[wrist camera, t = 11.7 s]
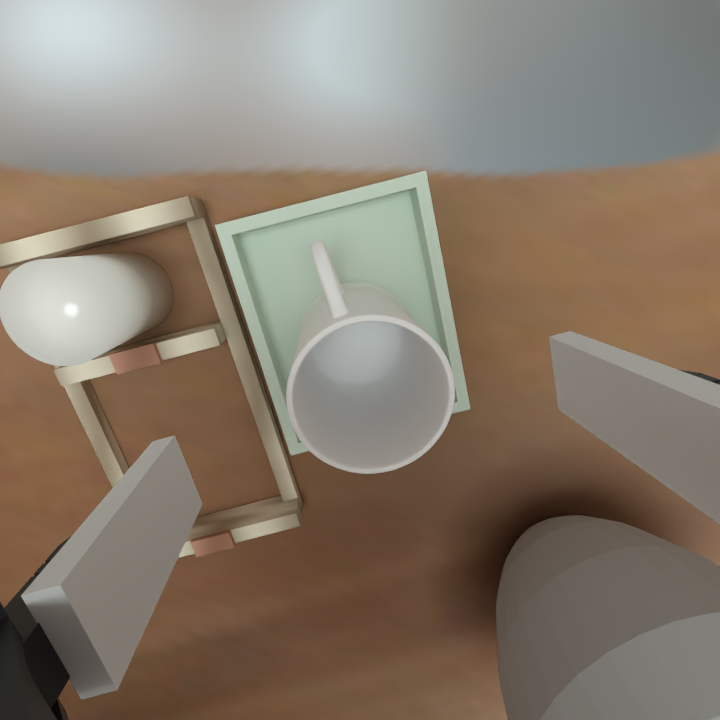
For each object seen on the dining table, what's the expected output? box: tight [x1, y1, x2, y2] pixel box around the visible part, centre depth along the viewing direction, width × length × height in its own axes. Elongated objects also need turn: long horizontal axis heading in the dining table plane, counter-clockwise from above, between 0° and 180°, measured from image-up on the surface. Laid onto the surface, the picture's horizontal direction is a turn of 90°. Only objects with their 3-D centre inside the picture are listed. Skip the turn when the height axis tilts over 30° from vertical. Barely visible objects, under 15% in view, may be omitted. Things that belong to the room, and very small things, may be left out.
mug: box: [286, 240, 455, 474], centre depth 26 cm, size 12×8×12 cm
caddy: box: [0, 196, 303, 558], centre depth 31 cm, size 13×25×3 cm, turn 14°
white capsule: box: [0, 252, 173, 366], centre depth 26 cm, size 6×6×9 cm
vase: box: [496, 515, 720, 720], centre depth 28 cm, size 20×20×24 cm
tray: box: [215, 171, 470, 455], centre depth 31 cm, size 14×17×3 cm
